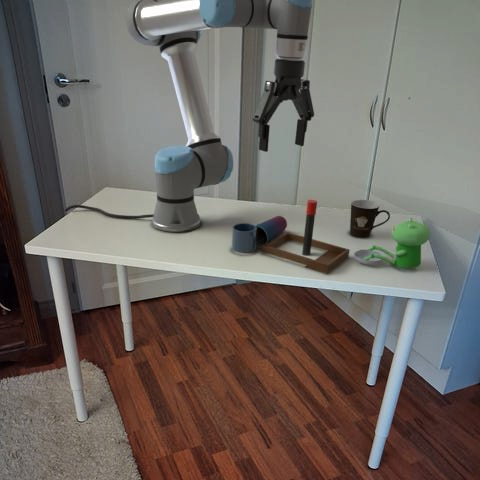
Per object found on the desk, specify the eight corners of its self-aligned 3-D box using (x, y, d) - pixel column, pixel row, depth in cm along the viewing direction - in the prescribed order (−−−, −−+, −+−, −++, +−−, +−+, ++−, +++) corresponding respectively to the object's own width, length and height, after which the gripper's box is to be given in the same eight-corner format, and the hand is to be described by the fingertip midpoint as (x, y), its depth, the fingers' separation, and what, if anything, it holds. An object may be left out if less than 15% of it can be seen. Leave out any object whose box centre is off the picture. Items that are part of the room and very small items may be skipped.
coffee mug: (341, 234, 152) (345, 203, 147) (355, 227, 158) (360, 197, 152) (373, 244, 145) (379, 213, 140) (386, 237, 151) (393, 206, 146)
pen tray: (262, 253, 137) (263, 245, 135) (286, 239, 146) (287, 232, 145) (327, 274, 127) (328, 265, 125) (348, 257, 136) (349, 249, 135)
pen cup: (226, 250, 138) (227, 228, 134) (240, 243, 143) (241, 221, 139) (246, 257, 134) (247, 234, 131) (260, 249, 139) (261, 226, 136)
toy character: (359, 255, 141) (363, 212, 134) (424, 260, 136) (431, 216, 129) (357, 268, 133) (361, 224, 126) (425, 274, 128) (433, 228, 121)
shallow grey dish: (353, 265, 132) (354, 259, 131) (353, 254, 138) (354, 248, 137) (382, 269, 130) (383, 262, 129) (381, 257, 137) (383, 251, 136)
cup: (287, 236, 150) (265, 251, 139) (268, 230, 153) (245, 244, 141) (291, 216, 147) (269, 229, 135) (272, 210, 149) (249, 222, 138)
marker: (299, 254, 136) (305, 201, 128) (304, 251, 138) (310, 199, 129) (308, 256, 135) (314, 203, 126) (312, 253, 136) (318, 201, 128)
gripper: (262, 60, 108) (256, 156, 119) (334, 59, 122) (322, 145, 133) (241, 57, 113) (237, 149, 124) (313, 57, 127) (303, 140, 138)
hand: (281, 147), depth 129 cm, fingers open, 13 cm apart
